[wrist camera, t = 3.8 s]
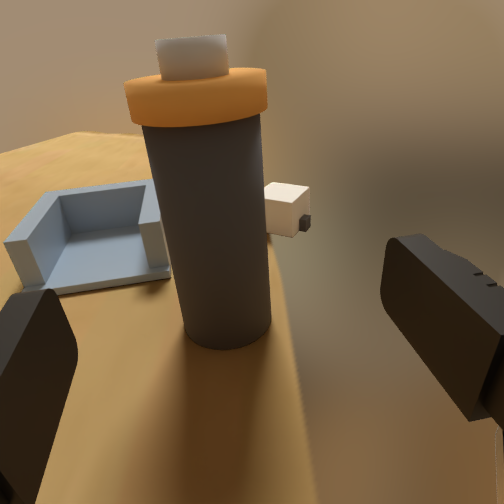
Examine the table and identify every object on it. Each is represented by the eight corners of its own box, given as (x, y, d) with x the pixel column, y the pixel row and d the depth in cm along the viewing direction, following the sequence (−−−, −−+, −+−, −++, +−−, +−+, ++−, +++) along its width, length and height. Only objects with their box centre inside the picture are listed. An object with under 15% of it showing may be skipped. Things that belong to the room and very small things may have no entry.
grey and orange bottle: (157, 333, 18) (80, 46, 12) (215, 280, 22) (180, 37, 16) (244, 369, 16) (206, 36, 10) (293, 302, 20) (288, 28, 13)
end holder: (170, 277, 22) (159, 225, 21) (23, 300, 21) (-2, 248, 20) (172, 219, 30) (163, 177, 28) (61, 234, 29) (45, 191, 27)
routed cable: (104, 224, 30) (95, 193, 28) (161, 193, 35) (156, 166, 33) (274, 266, 23) (272, 228, 21) (315, 221, 28) (316, 187, 26)
